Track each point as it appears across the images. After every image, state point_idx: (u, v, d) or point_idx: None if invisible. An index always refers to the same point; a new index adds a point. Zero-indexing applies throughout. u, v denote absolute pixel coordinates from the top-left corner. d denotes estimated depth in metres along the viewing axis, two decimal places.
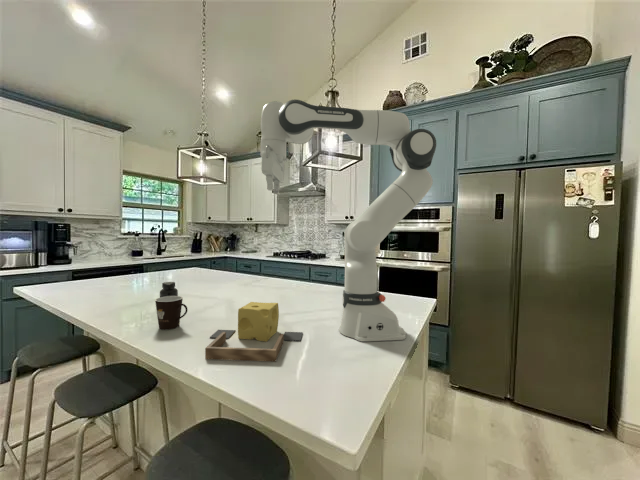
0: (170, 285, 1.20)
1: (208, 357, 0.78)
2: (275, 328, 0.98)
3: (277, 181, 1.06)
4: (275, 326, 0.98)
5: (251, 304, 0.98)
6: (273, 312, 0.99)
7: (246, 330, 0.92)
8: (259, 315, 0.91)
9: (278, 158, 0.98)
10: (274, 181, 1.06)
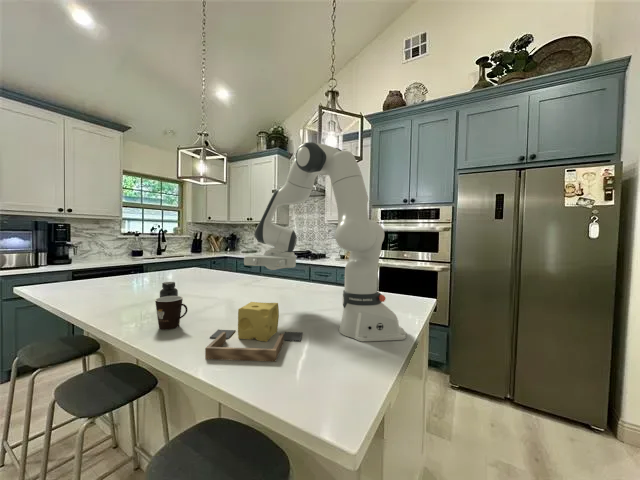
0: (170, 285, 1.20)
1: (208, 357, 0.78)
2: (275, 328, 0.98)
3: None
4: (275, 326, 0.98)
5: (251, 304, 0.98)
6: (273, 312, 0.99)
7: (246, 330, 0.92)
8: (259, 315, 0.91)
9: (267, 254, 1.19)
10: None
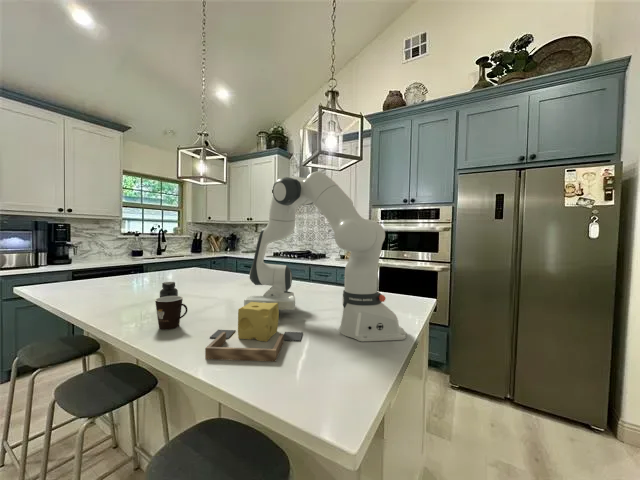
0: (170, 285, 1.20)
1: (208, 357, 0.78)
2: (275, 328, 0.98)
3: None
4: (275, 326, 0.98)
5: (251, 304, 0.98)
6: (273, 312, 0.99)
7: (246, 330, 0.92)
8: (259, 315, 0.91)
9: (266, 295, 1.20)
10: None
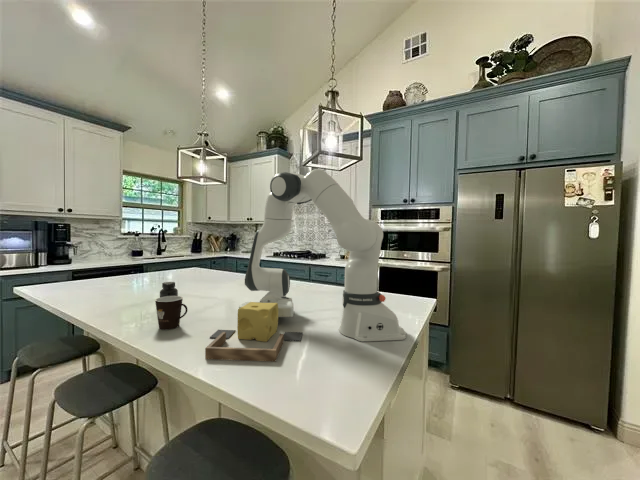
0: (170, 285, 1.20)
1: (208, 357, 0.78)
2: (274, 328, 0.98)
3: None
4: (275, 326, 0.98)
5: (251, 304, 0.98)
6: (273, 312, 0.99)
7: (246, 330, 0.92)
8: (259, 315, 0.91)
9: (263, 301, 1.13)
10: None
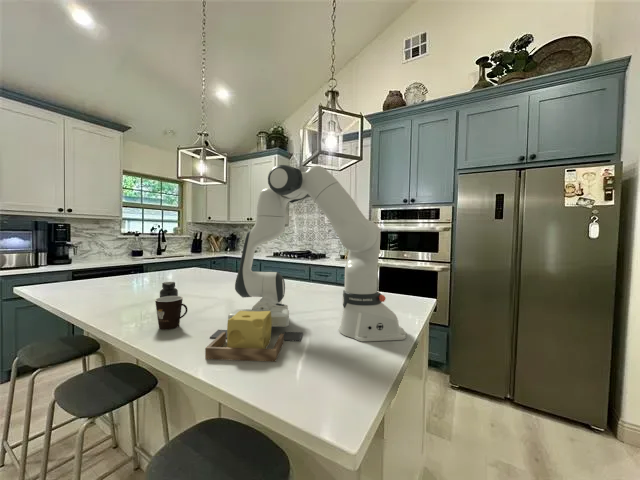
0: (170, 285, 1.20)
1: (208, 357, 0.78)
2: (268, 339, 0.88)
3: None
4: (268, 337, 0.88)
5: (241, 314, 0.87)
6: (266, 322, 0.89)
7: (237, 344, 0.81)
8: (252, 326, 0.81)
9: (255, 309, 1.02)
10: None
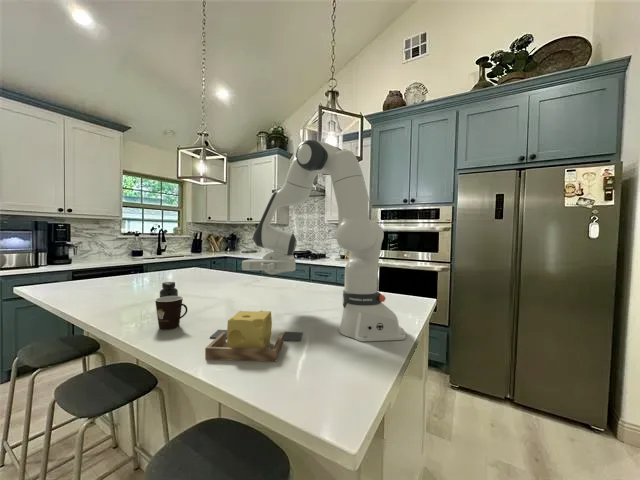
0: (170, 285, 1.20)
1: (208, 357, 0.78)
2: (268, 339, 0.88)
3: None
4: (268, 337, 0.88)
5: (241, 314, 0.87)
6: (266, 322, 0.89)
7: (237, 344, 0.81)
8: (252, 326, 0.81)
9: None
10: None
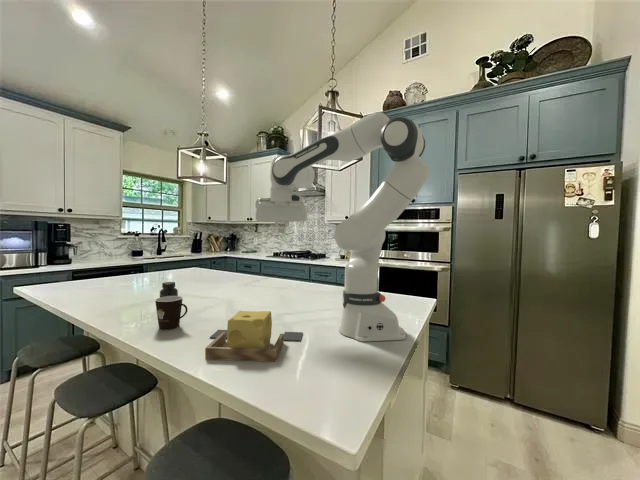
0: (170, 285, 1.20)
1: (208, 357, 0.78)
2: (268, 340, 0.88)
3: None
4: (268, 337, 0.88)
5: (241, 314, 0.87)
6: (266, 322, 0.89)
7: (237, 344, 0.81)
8: (252, 326, 0.81)
9: (274, 204, 1.13)
10: None
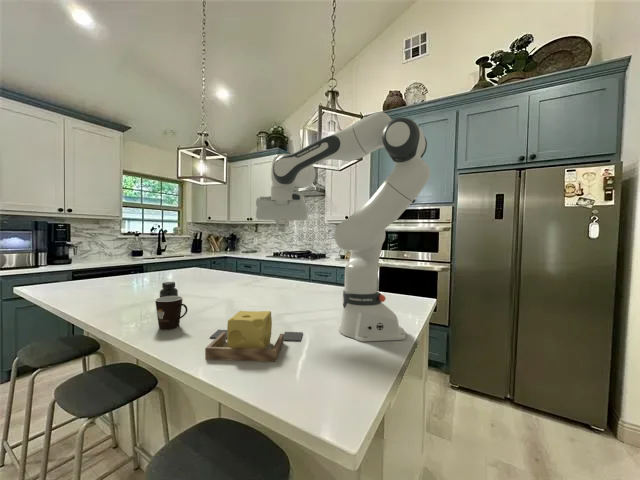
0: (170, 285, 1.20)
1: (208, 357, 0.78)
2: (268, 339, 0.88)
3: None
4: (268, 337, 0.88)
5: (241, 314, 0.87)
6: (266, 322, 0.89)
7: (237, 344, 0.81)
8: (252, 326, 0.81)
9: (275, 203, 1.13)
10: None
